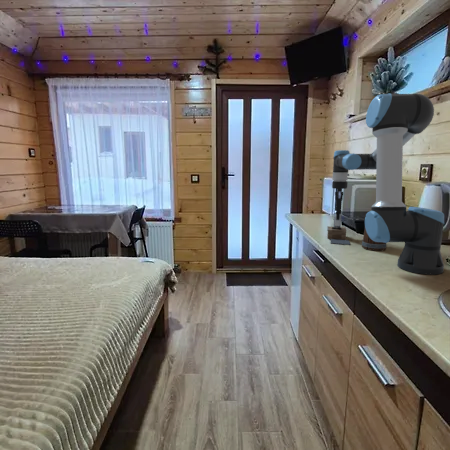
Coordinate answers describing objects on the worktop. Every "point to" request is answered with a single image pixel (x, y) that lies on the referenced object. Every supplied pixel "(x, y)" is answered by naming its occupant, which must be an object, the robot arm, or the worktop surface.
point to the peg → (334, 223)
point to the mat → (340, 241)
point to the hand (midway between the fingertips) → (337, 224)
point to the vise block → (336, 233)
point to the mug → (372, 243)
